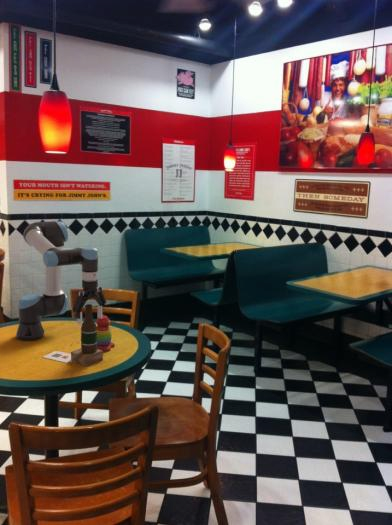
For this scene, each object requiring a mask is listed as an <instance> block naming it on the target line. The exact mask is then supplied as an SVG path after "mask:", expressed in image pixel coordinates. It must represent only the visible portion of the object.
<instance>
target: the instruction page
mask: <svg viewBox="0 0 392 525" xmlns="http://www.w3.org/2000/svg"><path fill="white" fill-rule="evenodd" d="M42 358H43V359H48V360H52V361H57V362H60V363H64V364H68V363H70V362H72V361H71V353H68V352H63V351H60V350H59V351H58V350H54V351H52V352H51V353H48V354H46V355H43V356H42Z"/></svg>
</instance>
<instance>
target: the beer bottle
mask: <svg viewBox="0 0 392 525" xmlns="http://www.w3.org/2000/svg"><path fill="white" fill-rule="evenodd" d="M93 306H94V305H93V304H90V303H88V304H87V303H86V304H85V305H84V310H85V312H84V320H83V321H82V325H80V326H81V327H80V348H81V351H82V352H83V353H85V354H91V353H95V352H96V351H97V323H96V321H95V320H94V315H93Z"/></svg>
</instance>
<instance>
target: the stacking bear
mask: <svg viewBox="0 0 392 525" xmlns="http://www.w3.org/2000/svg"><path fill="white" fill-rule="evenodd" d="M111 322H112V321H111V320H110V318H109V317H108V316H107V315H105V314H102V319H100V318H96V321H95V323H96V327H97V349H99V350H102V351H103V352H110V351H111V349H112V348H114V347H115V346H116V344H115V343H114V342H113V341H112V338H113V337H112V330H111V327H110V325H111Z"/></svg>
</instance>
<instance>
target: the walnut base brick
mask: <svg viewBox="0 0 392 525" xmlns="http://www.w3.org/2000/svg"><path fill="white" fill-rule="evenodd" d="M70 354H71V361H70V362H73V363H75V364H78V365H82V366H83V367H89V366H91V365H94V364H96V363H99V362H101V361H103V360H104V351H102V350H99V349H97V351H96V352H95V353H91V354H85V353H83V352H82V351H81V347H80V348H78V349H76V350H72V351H70Z"/></svg>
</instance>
